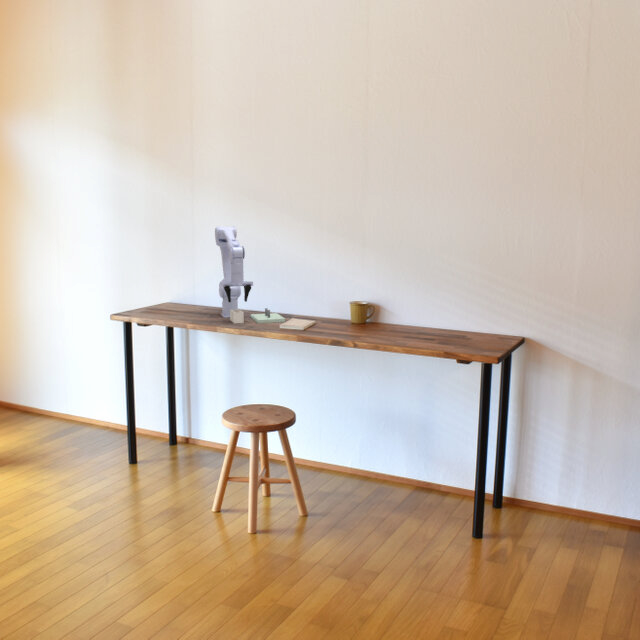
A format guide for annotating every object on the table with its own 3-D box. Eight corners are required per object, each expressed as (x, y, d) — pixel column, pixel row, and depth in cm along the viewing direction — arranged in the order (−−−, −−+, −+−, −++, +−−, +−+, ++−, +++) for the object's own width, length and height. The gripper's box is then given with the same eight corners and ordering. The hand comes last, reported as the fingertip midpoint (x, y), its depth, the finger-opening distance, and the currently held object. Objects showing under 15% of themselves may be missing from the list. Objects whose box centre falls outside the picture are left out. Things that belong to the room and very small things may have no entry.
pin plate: (250, 317, 379) (250, 307, 378) (276, 316, 383) (276, 306, 382) (257, 323, 364) (257, 312, 363) (285, 321, 368) (285, 311, 367)
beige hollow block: (230, 320, 371) (230, 309, 370) (239, 319, 373) (239, 309, 372) (233, 323, 363) (233, 312, 362) (243, 322, 364) (243, 312, 363)
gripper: (223, 274, 357) (224, 303, 360) (254, 273, 362) (254, 302, 364) (220, 272, 364) (221, 301, 366) (250, 271, 369) (251, 300, 371)
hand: (237, 301), depth 366 cm, fingers open, 7 cm apart
